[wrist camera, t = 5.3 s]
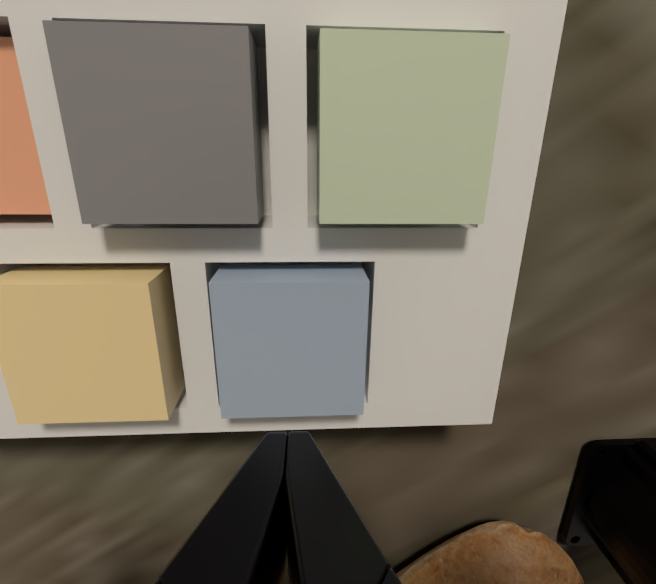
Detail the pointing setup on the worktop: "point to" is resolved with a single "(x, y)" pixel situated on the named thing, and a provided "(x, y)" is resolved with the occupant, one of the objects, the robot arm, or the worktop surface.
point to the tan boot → (494, 559)
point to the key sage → (406, 125)
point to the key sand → (90, 343)
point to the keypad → (310, 213)
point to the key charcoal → (160, 121)
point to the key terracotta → (17, 143)
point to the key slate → (290, 339)
